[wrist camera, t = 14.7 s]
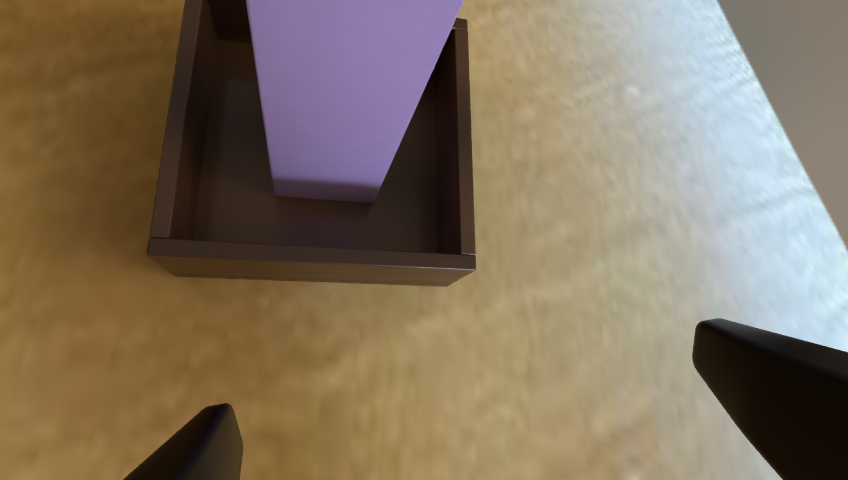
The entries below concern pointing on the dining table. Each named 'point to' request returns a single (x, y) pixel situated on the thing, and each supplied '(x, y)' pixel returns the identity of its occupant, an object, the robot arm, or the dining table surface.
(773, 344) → the robot arm
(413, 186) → the tray
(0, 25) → the dining table surface
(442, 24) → the block
